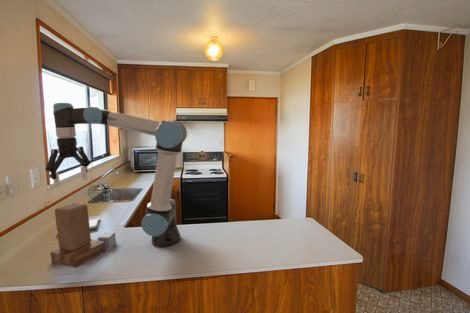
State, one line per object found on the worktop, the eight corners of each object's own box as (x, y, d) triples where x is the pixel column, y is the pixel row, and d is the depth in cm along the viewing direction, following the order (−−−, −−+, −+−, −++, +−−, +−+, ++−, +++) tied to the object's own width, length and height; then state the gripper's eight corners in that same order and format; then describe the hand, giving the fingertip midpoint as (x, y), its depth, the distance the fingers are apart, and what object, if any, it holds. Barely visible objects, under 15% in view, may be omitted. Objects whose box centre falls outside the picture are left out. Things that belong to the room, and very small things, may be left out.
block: (73, 252, 117) (68, 210, 115) (58, 249, 121) (53, 208, 118) (92, 242, 127) (88, 204, 124) (77, 240, 130) (73, 202, 128)
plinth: (105, 251, 128) (104, 241, 128) (76, 267, 113) (74, 257, 113) (82, 246, 134) (81, 237, 133) (51, 262, 119) (50, 252, 118)
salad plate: (64, 225, 166) (63, 220, 166) (100, 219, 174) (100, 214, 174) (56, 237, 147) (55, 232, 146) (97, 230, 155) (96, 225, 155)
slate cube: (116, 243, 137) (115, 232, 136) (109, 248, 131) (108, 237, 130) (105, 243, 137) (104, 232, 137) (98, 248, 131) (97, 237, 131)
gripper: (84, 136, 129) (89, 176, 132) (31, 139, 106) (37, 188, 109) (95, 135, 127) (99, 177, 129) (43, 138, 104) (49, 189, 106)
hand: (71, 182), depth 119 cm, fingers open, 13 cm apart
